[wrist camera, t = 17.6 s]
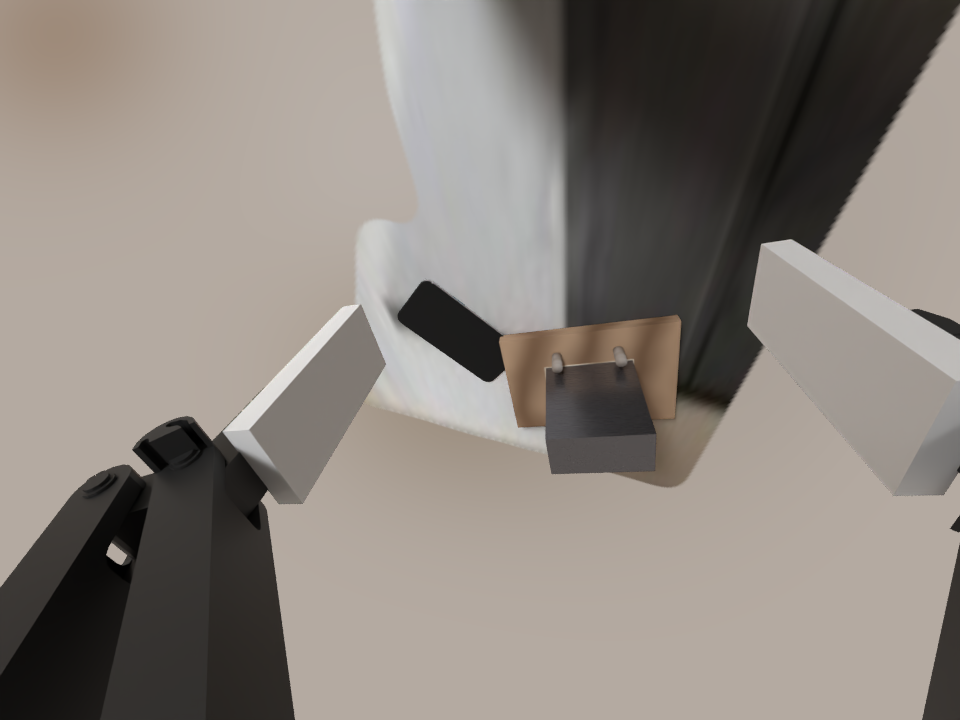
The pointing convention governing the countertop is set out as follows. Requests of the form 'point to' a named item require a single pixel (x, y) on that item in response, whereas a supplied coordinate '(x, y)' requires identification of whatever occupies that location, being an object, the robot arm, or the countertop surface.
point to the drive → (598, 420)
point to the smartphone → (454, 330)
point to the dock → (594, 361)
